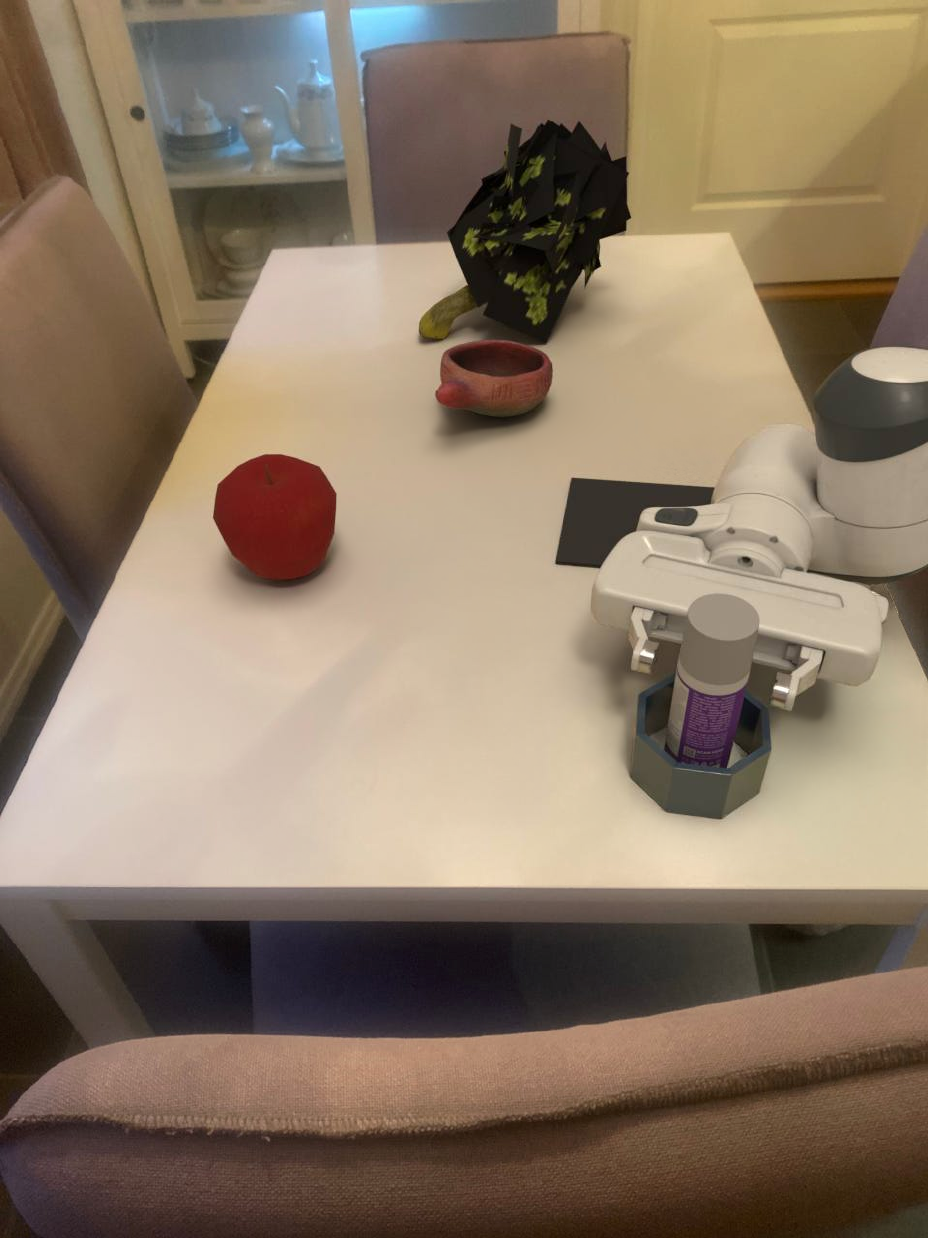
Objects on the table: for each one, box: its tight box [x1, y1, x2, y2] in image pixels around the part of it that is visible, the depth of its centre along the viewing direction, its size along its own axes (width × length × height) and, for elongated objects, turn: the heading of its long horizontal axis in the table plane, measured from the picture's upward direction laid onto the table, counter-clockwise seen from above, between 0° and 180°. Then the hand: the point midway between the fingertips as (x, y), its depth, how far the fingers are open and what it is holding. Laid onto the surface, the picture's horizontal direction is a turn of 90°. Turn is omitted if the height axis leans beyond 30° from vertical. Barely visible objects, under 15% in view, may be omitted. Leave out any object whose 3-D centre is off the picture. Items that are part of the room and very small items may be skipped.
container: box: [663, 593, 760, 768], centre depth 63 cm, size 5×5×15 cm
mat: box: [555, 477, 715, 569], centre depth 89 cm, size 22×14×1 cm, turn 79°
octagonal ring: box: [629, 672, 773, 820], centre depth 66 cm, size 9×9×5 cm
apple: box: [212, 453, 337, 581], centre depth 83 cm, size 11×11×12 cm
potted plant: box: [418, 119, 632, 345], centre depth 119 cm, size 21×22×30 cm
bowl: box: [434, 339, 554, 418], centre depth 104 cm, size 16×13×8 cm
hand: (709, 683), depth 62 cm, fingers open, 8 cm apart
